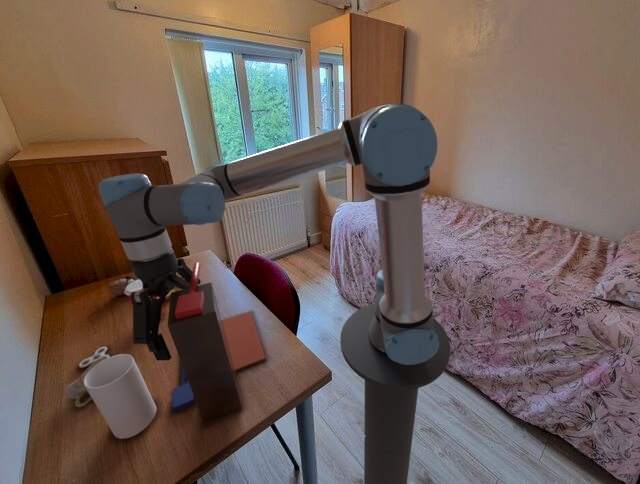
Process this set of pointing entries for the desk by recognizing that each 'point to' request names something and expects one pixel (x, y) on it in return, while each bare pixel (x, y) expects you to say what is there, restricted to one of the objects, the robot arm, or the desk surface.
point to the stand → (205, 356)
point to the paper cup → (135, 289)
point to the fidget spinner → (94, 357)
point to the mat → (243, 340)
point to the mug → (81, 386)
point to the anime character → (121, 285)
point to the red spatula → (191, 298)
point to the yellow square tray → (171, 292)
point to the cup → (121, 395)
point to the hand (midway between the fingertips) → (182, 334)
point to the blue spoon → (182, 394)
